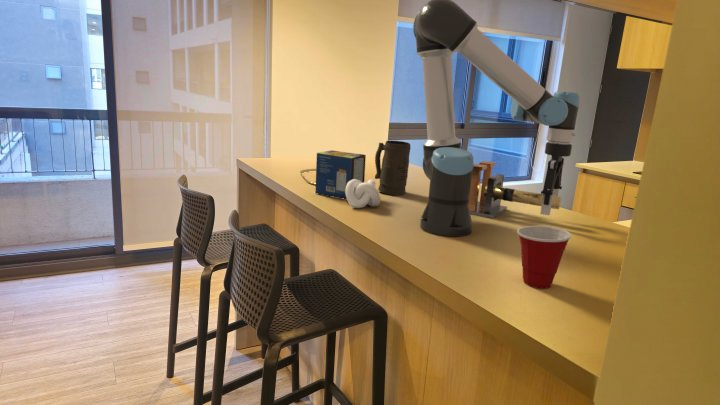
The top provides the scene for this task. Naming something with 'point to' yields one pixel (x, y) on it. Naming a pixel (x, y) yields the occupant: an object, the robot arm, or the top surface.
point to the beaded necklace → (307, 171)
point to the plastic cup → (541, 253)
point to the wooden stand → (489, 203)
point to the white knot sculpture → (362, 193)
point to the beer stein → (393, 167)
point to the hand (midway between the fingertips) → (548, 211)
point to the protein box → (338, 172)
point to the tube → (523, 197)
